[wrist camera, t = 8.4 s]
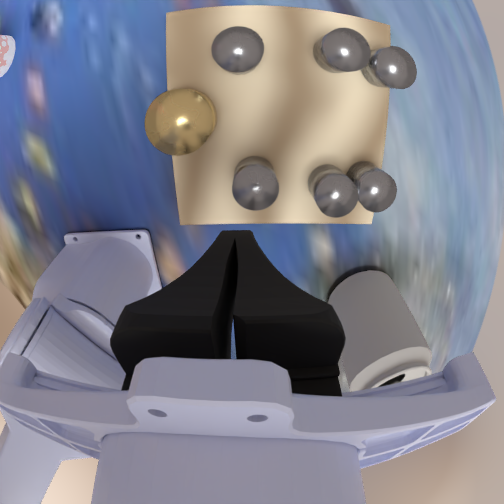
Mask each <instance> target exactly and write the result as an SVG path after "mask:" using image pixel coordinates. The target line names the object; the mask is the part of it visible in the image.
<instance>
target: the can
mask: <svg viewBox="0 0 504 504" xmlns="http://www.w3.org/2000/svg"><path fill="white" fill-rule="evenodd" d="M328 304H330V305H332V306H333V308H334V310H335V312H336V313H337V315H338V317H339V319H340V321H341V324H342V326H343V329H344V333H345V337H346V340H345V346H344V348H343V351H342V353H341V358H342V362H343V366H344V369H345V373H346V377H347V381H348V385H349V389H350V391H351V392H353V391H359V390H365V389H371V388H376V387H381V386H386V385H391V384H396V383H400V382H404V381H409V380H413V379H417V378H420V377H424V376H428V375H431V371H432V370H431V369H430V368H429V365H430V362H431V359H432V352H431V350H430V348H429V346H428V344H427V342H426V340H425V338H424V336H423V334H422V332H421V330H420V328H419V326H418V324H417V323H416V321H415V319H414V317H413V315H412V313H411V311H410V310H409V308H408V306H407V304H406V303H405V301H404V299H403V297H402V296H401V294H400V292H399V290H398V289H397V287H396V285H395V284H394V282H393V280H392V279H391V278H390V277H389V276H388V275H387V274H385V273H383V272H381V271H372V270H369V271H364V272H359V273H356V274H354V275H352V276H350V277H348V278H346V279H345V280H344V281H343V282H341V283H340V284H339V285H338V286H337V287H336V288H335V290H334V291H333V292H332V293H331V295H330V298H329V301H328Z"/></svg>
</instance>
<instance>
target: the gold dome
mask: <svg viewBox="0 0 504 504" xmlns="http://www.w3.org/2000/svg"><path fill="white" fill-rule="evenodd" d="M216 122H217V112H216V108H215V106H214V104H213V102H212V100H211V99H210V98H209V97H208V96H207V95H205V94H204V93H202V92H200V91H198V90H194V89H173V90H169V91H166V92H164V93H162V94H161V95H159V96H158V97H157V98H156V99H155V100H154V101H153V102H152V103H151V105H150V106H149V108H148V110H147V113H146V116H145V131H146V134H147V137H148V139H149V140H150V142H151V143H152V144H153V146H155V147H156V148H157V149H158V150H160V151H161V152H163V153H166V154H169V155H175V156H181V155H186V154H190V153H192V152H194V151H196V150H197V149H199V148H200V147H201V146H202V145H203V144H204V143H205V142H206V141H207V139H208V138H209V137H210V136H211V134H212V133H213V131H214V129H215V126H216Z"/></svg>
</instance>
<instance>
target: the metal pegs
mask: <svg viewBox="0 0 504 504" xmlns="http://www.w3.org/2000/svg"><path fill="white" fill-rule="evenodd" d="M211 52H212V56H213V59H214V60H215V62H216V63H217V64H218V65H219V66H220V67H221V68H222V69H224V70H225V71H227V72H228V73H231V74H236V75H242V74H246V73H249V72H251V71H253V70H254V69H255V68H256V67H257V66H258V65H259V63H260V61H261V59H262V56H263V54H264V43H263V40H262V39H261V37H260V36H259V34H258V33H256V32H255V31H254V30H252V29H250V28H247V27H242V26H235V27H230V28H227V29H225V30H223V31H221V32H220V33H219V34H218V35H217V36H216V37H215V39H214V41H213V43H212V47H211ZM313 55H314V58H315V61H316V62H317V64H318V65H319V66H320V67H321V68H323V69H324V70H326V71H328V72H331V73H344V72H352V71H358V70H361V72H362V74H363V76H364V78H365V79H366V80H367V81H368V82H369V83H370V84H372V85H374V86H377V87H385V88H396V89H405V88H408V87H410V86H411V85H412V84H413V83H414V81H415V79H416V74H417V70H416V65H415V62H414V60H413V58H412V57H411V56H410V54H409V53H408V52H406V51H405V50H404V49H402V48H399V47H396V46H390V47H385V48H380V49H375V50H370V46H369V44H368V42H367V40H366V39H365V38H364V37H363V36H362V35H361V34H360V33H359V32H357V31H355V30H353V29H350V28H337V29H334V30H333V31H331V32H329V33H328V34H326V35H324V36H323V37H321V38H320V39H319V40H317V42H316V43H315V45H314V48H313ZM308 189H309V191H310V193H311V195H312V197H313V198H314V200H315V202H316V204H317V206H318V208H319V209H320V211H321V212H322V213H323V214H325V215H326V216H329V217H333V218H339V217H343V216H345V215H347V214H349V213H350V212H351V211H352V210H353V209H354V208H355V206H356V204H357V202H358V201H359V202H360V204H361V205H362V206H363V207H364V208H365V209H366V210H368V211H370V212H381V211H384V210H385V209H387V208H388V207H389V206H390V205H391V204H392V203H393V201H394V200H395V197H396V192H397V188H396V183H395V181H394V180H393V178H392V177H391V176H389V175H388V174H387V173H385V172H384V171H383V170H381V169H380V168H379V167H377V166H376V165H374V164H373V163H371V162H369V161H359V162H356V163H355V164H353V165H352V166H351V167H350V168H349V170H348V172H347V174H346V175H345V174H344V173H343V172H342V171H341V170H340V169H339V168H338V167H336V166H334V165H331V164H324V165H321V166H318V167H317V168H315V169H314V170H313V171H312V172H311V174H310V176H309V178H308ZM232 193H233V196H234V199H235V200H236V202H237V203H238V204H239V205H240V206H242V207H243V208H245V209H248V210H253V211H258V210H263V209H266V208H268V207H269V206H271V205H272V204H273V203H274V202H275V200H276V199H277V197H278V194H279V183H278V180H277V177H276V174H275V171H274V168H273V166H272V164H271V163H270V162H269V161H268V160H267V159H265V158H263V157H260V156H249V157H246V158H244V159H243V160H241V161H240V162H239V163H238V165H237V166H236V168H235V171H234V178H233V185H232Z"/></svg>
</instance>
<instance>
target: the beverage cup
mask: <svg viewBox="0 0 504 504" xmlns="http://www.w3.org/2000/svg"><path fill="white" fill-rule="evenodd" d="M14 54H15V40H14V39H13V37H12V36H7V35H0V77H2V76H3V75H4V74H5V73H6V72H7V70H8V69H9V67H10V65H11V63H12V61H13V58H14Z"/></svg>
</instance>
